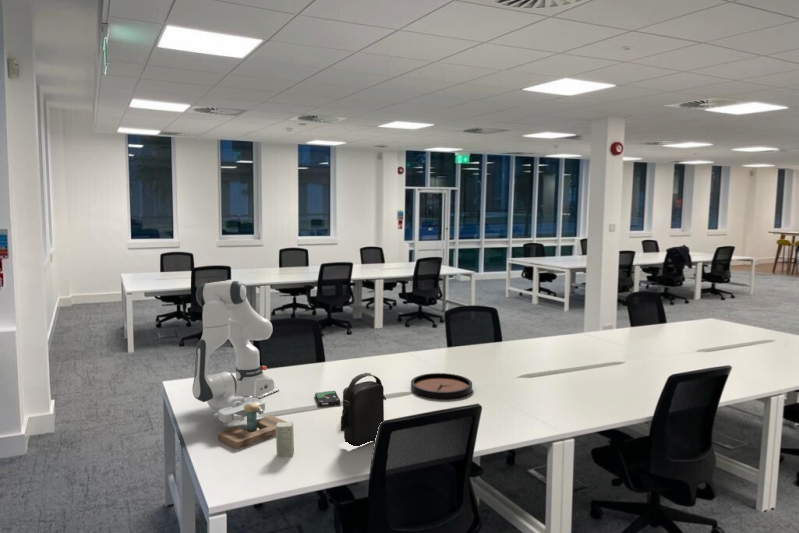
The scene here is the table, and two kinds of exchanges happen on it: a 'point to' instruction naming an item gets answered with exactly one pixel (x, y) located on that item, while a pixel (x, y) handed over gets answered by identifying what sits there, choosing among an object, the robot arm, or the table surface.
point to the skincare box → (284, 439)
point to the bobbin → (251, 417)
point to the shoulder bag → (362, 410)
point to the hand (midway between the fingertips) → (252, 415)
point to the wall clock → (441, 386)
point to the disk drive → (327, 398)
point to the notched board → (242, 438)
